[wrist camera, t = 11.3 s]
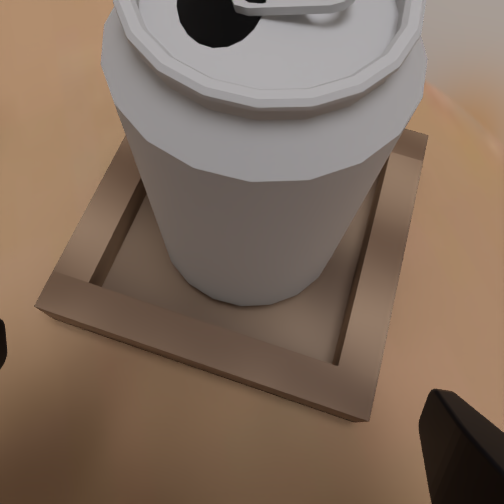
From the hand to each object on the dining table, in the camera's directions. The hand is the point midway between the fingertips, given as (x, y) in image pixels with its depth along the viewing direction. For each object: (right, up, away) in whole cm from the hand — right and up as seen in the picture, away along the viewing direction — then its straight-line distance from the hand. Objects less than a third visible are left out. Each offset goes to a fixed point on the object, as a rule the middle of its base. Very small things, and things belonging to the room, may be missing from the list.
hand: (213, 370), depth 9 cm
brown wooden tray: (+1, +3, +11) cm, 12 cm away
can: (+1, +3, +11) cm, 11 cm away
